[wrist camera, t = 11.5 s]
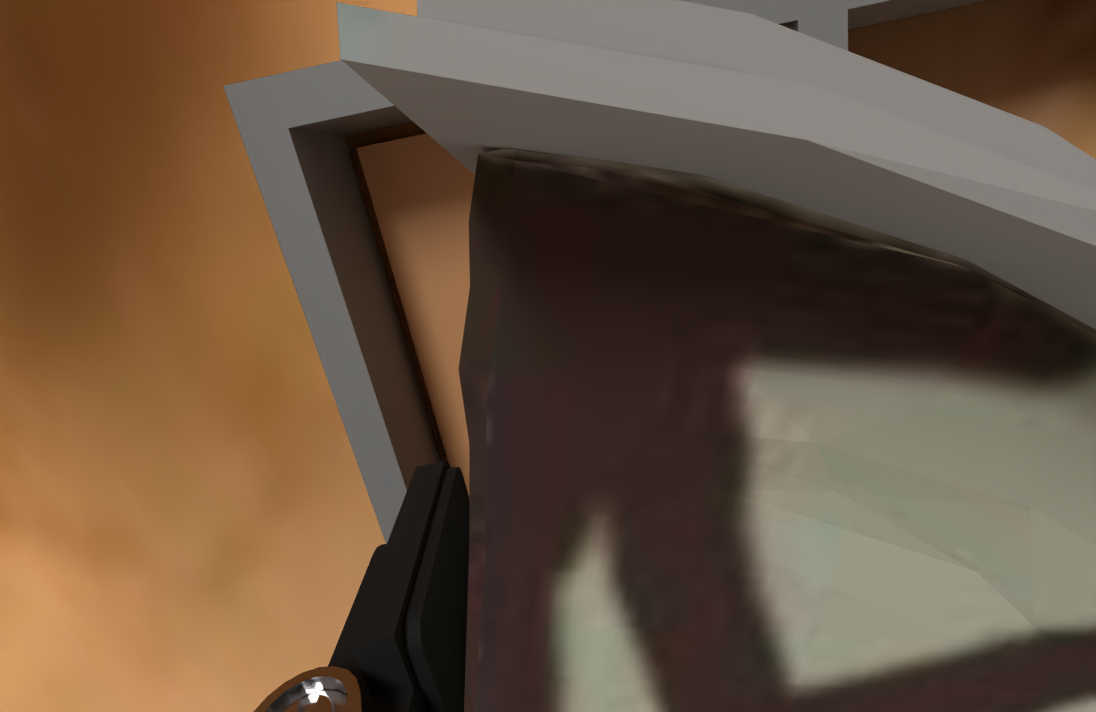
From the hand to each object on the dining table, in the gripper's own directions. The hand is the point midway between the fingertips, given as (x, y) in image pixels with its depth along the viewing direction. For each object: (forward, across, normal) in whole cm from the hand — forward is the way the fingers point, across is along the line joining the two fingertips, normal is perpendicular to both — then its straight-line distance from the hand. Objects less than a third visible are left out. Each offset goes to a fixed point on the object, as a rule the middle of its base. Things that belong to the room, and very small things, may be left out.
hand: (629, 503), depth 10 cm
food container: (+3, -1, 0) cm, 3 cm away
